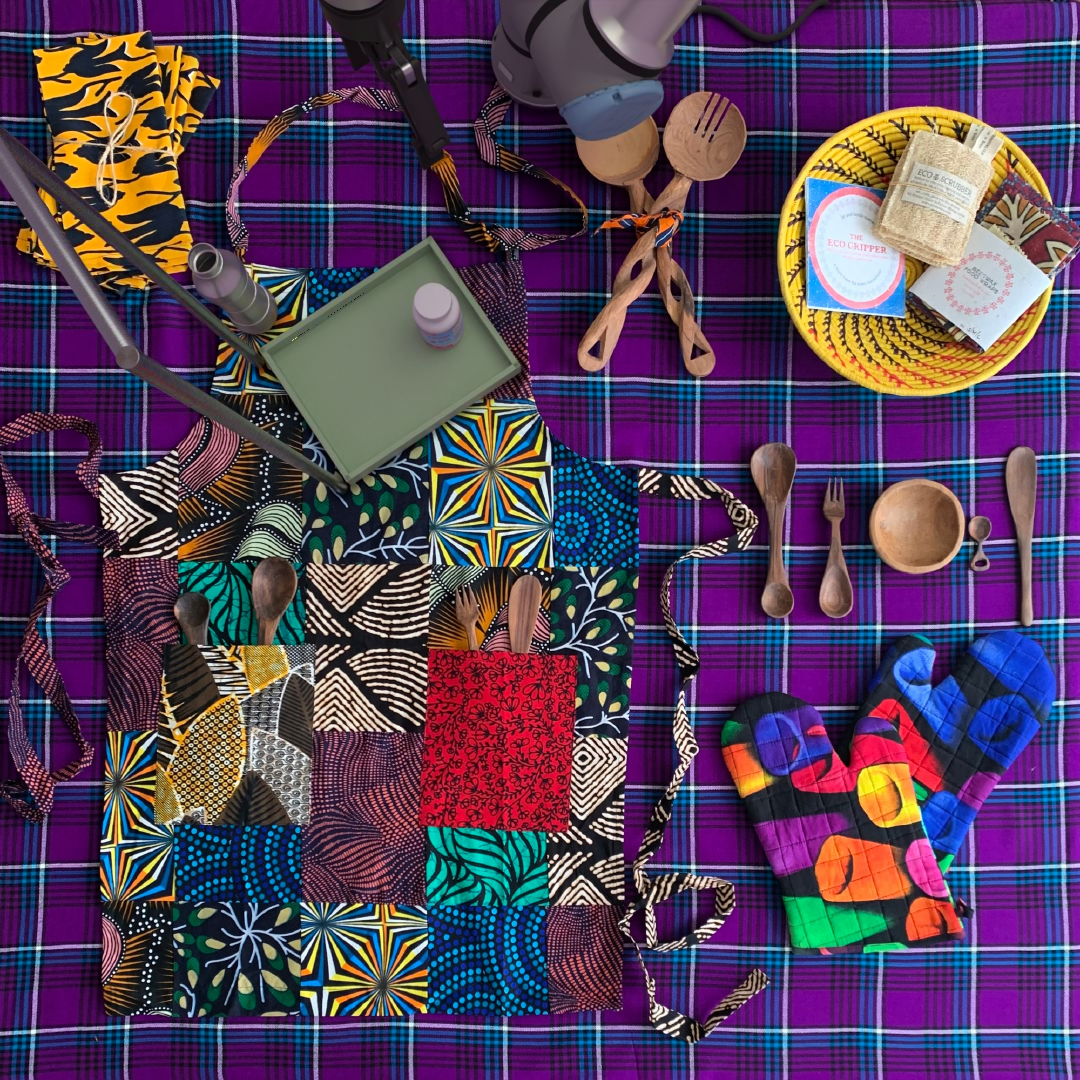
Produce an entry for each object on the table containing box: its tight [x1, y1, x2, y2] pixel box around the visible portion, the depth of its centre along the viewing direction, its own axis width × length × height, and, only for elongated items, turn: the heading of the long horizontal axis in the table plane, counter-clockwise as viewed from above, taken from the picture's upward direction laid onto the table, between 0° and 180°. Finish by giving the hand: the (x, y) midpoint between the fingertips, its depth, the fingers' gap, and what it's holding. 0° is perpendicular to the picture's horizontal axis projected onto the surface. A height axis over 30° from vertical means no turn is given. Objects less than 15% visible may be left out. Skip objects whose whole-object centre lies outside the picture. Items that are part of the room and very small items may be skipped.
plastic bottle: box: [186, 242, 279, 335], centre depth 115 cm, size 6×7×20 cm
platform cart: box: [0, 124, 522, 495], centre depth 93 cm, size 30×22×62 cm
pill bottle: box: [412, 283, 464, 350], centre depth 118 cm, size 6×6×11 cm
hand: (397, 111), depth 99 cm, fingers open, 13 cm apart
